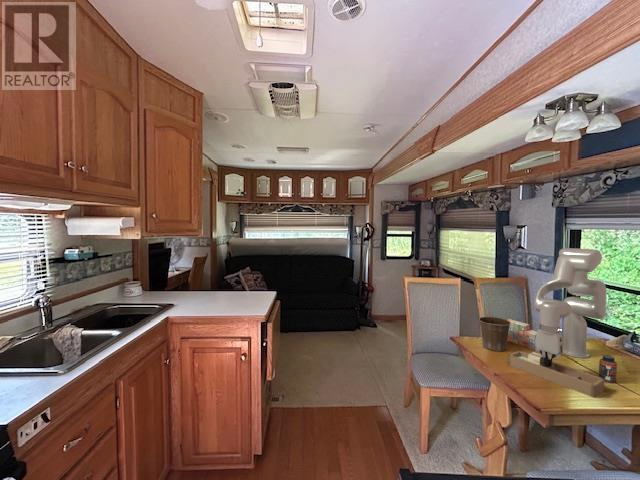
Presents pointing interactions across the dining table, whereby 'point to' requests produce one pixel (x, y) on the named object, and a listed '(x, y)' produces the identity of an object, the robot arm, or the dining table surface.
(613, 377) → the supplement bottle
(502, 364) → the dining table surface
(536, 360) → the birch block
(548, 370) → the track
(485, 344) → the plant pot
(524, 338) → the stack of blocks
